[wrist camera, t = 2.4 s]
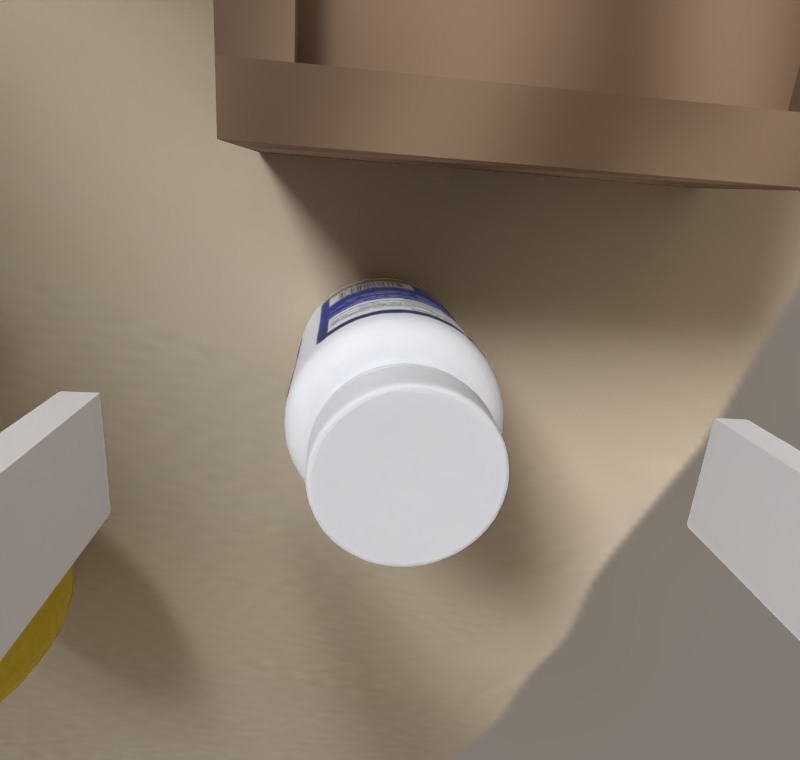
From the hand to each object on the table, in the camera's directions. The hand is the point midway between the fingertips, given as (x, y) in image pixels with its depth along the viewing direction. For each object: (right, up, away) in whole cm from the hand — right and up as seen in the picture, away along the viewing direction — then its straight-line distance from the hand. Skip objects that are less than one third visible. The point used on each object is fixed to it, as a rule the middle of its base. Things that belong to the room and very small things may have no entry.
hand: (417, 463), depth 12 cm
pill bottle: (-1, +3, +7) cm, 8 cm away
